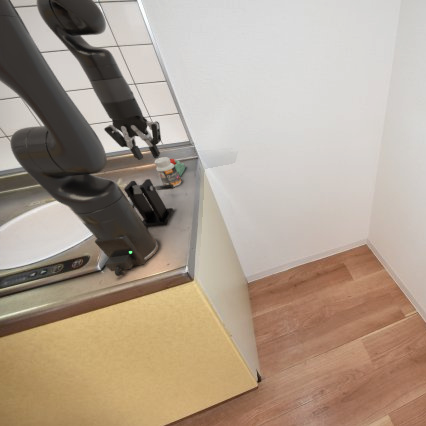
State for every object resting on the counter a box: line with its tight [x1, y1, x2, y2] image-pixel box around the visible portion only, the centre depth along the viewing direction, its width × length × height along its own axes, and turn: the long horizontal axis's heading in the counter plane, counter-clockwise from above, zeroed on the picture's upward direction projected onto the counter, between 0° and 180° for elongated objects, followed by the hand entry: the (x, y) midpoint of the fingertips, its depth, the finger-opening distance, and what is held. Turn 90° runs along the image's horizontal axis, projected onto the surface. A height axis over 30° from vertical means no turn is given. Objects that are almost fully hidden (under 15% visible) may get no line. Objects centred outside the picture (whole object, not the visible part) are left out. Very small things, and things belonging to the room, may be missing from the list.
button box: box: [174, 159, 186, 177], centre depth 95 cm, size 7×6×4 cm
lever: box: [132, 184, 175, 195], centre depth 73 cm, size 15×5×2 cm, turn 8°
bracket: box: [123, 178, 175, 228], centre depth 69 cm, size 7×7×13 cm
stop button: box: [169, 158, 176, 165], centre depth 93 cm, size 3×3×2 cm
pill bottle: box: [154, 156, 182, 188], centre depth 86 cm, size 6×6×10 cm
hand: (149, 157), depth 72 cm, fingers open, 4 cm apart
